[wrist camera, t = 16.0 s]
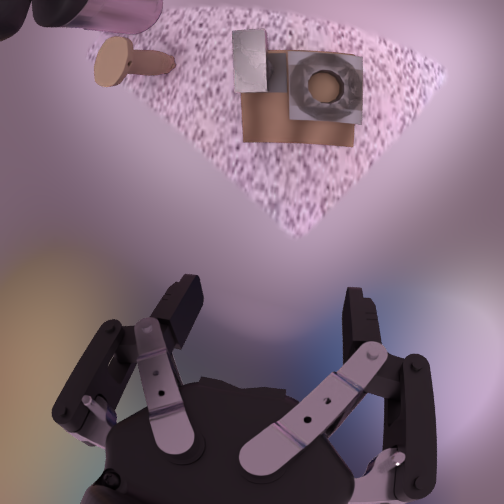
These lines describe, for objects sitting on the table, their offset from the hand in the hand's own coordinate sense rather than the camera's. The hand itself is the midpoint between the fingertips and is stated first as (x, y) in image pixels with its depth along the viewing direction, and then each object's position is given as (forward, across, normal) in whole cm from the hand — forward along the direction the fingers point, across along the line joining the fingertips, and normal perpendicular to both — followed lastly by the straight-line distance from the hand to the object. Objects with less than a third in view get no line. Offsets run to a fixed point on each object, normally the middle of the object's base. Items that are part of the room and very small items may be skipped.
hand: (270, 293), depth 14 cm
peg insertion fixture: (+31, 0, -10) cm, 32 cm away
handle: (+30, +20, -17) cm, 40 cm away
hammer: (+28, +4, -14) cm, 32 cm away
